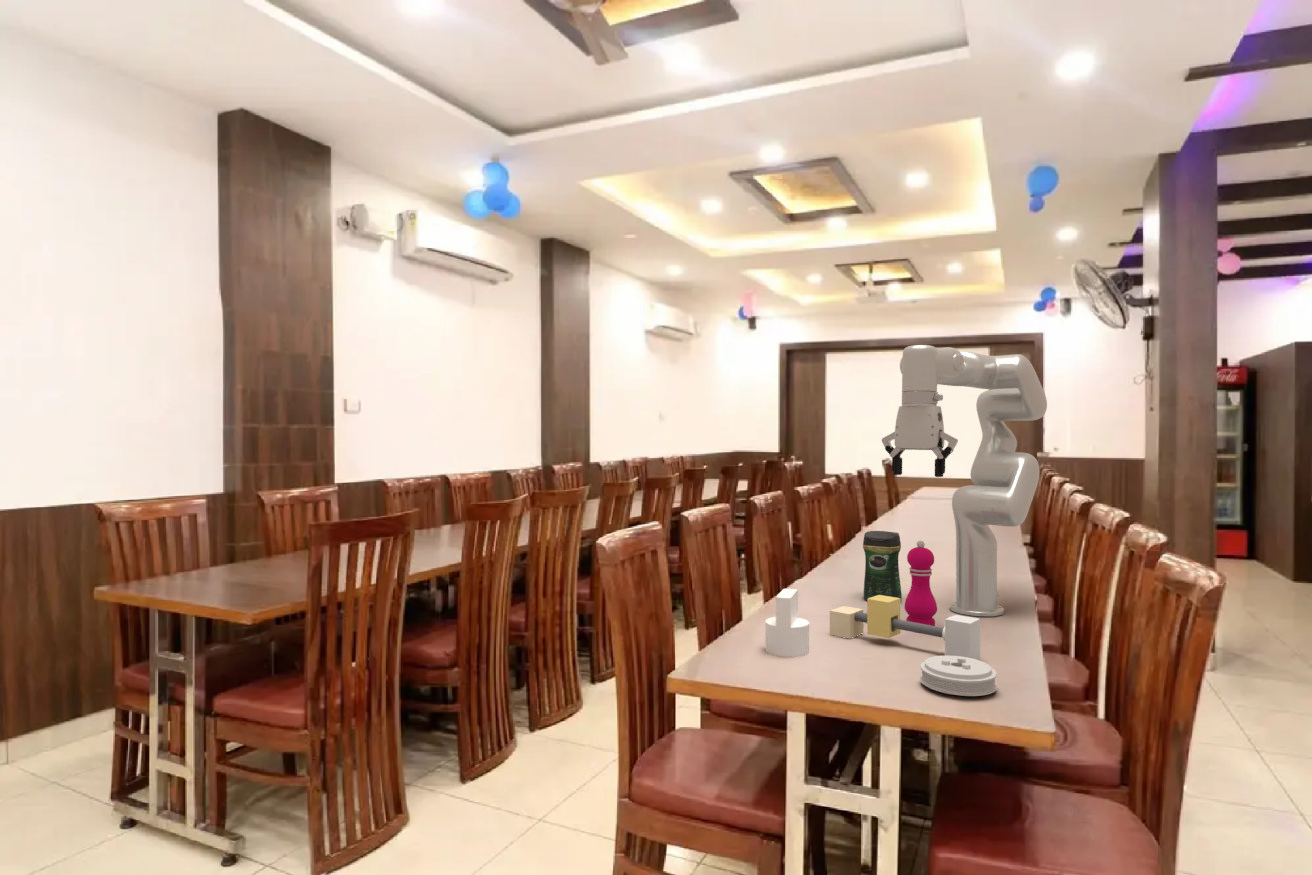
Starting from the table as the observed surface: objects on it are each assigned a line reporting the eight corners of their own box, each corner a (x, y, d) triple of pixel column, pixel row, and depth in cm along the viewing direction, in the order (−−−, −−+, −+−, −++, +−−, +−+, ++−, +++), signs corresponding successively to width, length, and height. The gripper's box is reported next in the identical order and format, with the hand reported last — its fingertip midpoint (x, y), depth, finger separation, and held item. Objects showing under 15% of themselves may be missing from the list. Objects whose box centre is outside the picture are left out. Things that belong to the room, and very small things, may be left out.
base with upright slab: (805, 658, 152) (805, 599, 152) (761, 654, 155) (761, 596, 155) (812, 646, 161) (812, 590, 160) (770, 642, 164) (770, 587, 164)
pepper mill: (939, 630, 172) (939, 543, 172) (906, 629, 173) (906, 542, 173) (934, 622, 179) (934, 538, 179) (902, 621, 181) (902, 537, 180)
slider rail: (843, 629, 173) (843, 594, 173) (980, 657, 152) (980, 618, 152) (829, 634, 169) (829, 599, 169) (969, 664, 148) (969, 624, 148)
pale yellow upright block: (878, 628, 167) (878, 594, 167) (900, 633, 163) (900, 598, 163) (867, 633, 163) (867, 598, 163) (888, 638, 160) (888, 602, 160)
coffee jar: (904, 599, 203) (904, 530, 203) (896, 605, 196) (896, 534, 196) (868, 595, 208) (868, 528, 208) (859, 601, 202) (859, 531, 201)
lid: (985, 678, 140) (985, 651, 140) (1005, 703, 128) (1005, 674, 128) (914, 675, 142) (914, 649, 142) (927, 699, 130) (927, 670, 130)
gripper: (964, 400, 168) (962, 477, 168) (890, 402, 180) (889, 473, 180) (950, 398, 162) (949, 478, 162) (875, 400, 174) (874, 474, 174)
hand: (917, 475), depth 171 cm, fingers open, 9 cm apart
